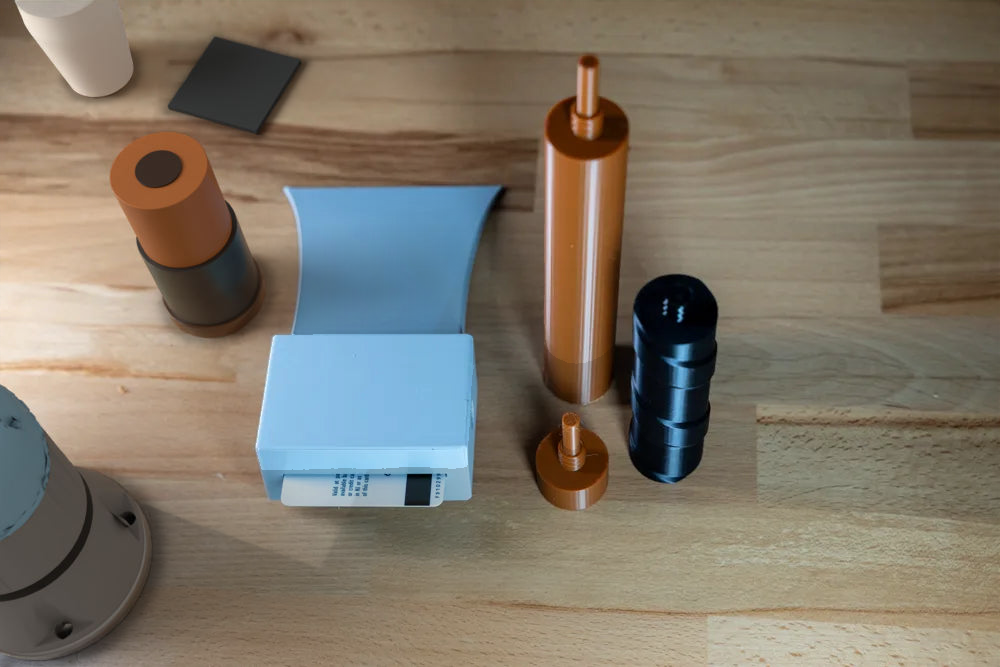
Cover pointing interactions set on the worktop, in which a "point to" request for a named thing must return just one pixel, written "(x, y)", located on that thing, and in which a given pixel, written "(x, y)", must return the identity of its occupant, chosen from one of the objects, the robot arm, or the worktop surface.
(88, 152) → the worktop surface
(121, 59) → the cup
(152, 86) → the worktop surface
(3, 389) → the robot arm
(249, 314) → the dark grey cylinder
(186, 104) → the mat
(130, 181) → the copper cylinder
